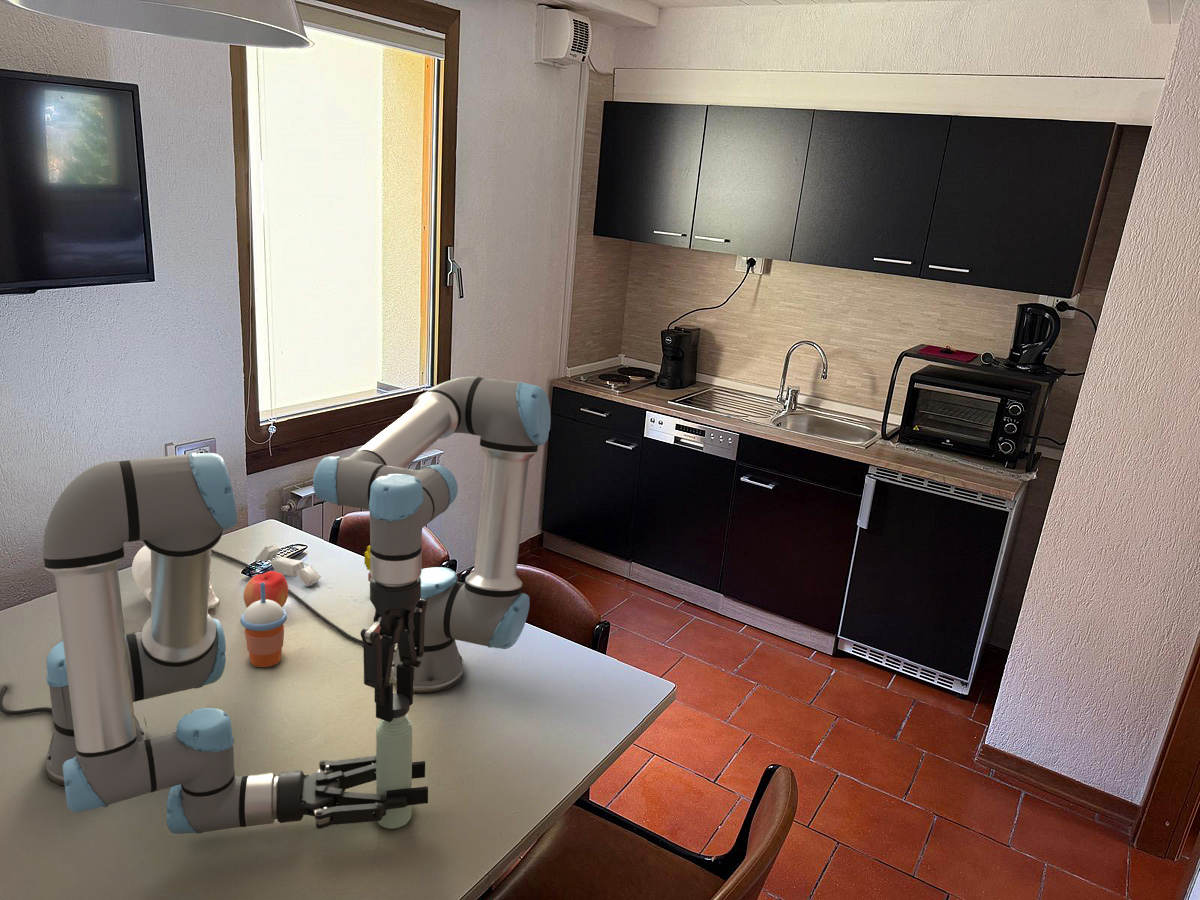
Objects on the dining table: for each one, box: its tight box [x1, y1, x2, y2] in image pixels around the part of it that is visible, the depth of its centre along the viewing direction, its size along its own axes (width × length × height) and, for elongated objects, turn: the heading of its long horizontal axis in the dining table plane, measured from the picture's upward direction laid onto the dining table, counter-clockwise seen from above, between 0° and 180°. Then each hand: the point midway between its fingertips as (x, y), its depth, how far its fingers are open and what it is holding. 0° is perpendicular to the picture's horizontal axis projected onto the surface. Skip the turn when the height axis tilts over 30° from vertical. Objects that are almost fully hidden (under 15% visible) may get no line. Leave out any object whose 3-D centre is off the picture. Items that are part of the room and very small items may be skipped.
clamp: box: [254, 544, 322, 587], centre depth 219 cm, size 20×4×7 cm, turn 62°
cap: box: [393, 693, 411, 718], centre depth 135 cm, size 5×5×2 cm
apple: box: [243, 570, 289, 608], centre depth 199 cm, size 10×10×10 cm
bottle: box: [375, 714, 414, 830], centre depth 138 cm, size 6×6×22 cm
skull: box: [131, 545, 220, 610], centre depth 201 cm, size 13×22×16 cm, turn 73°
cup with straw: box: [240, 583, 288, 668], centre depth 180 cm, size 9×9×18 cm
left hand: (426, 781), depth 141 cm, fingers closed on bottle, 6 cm apart
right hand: (394, 709), depth 136 cm, fingers closed on cap, 4 cm apart
